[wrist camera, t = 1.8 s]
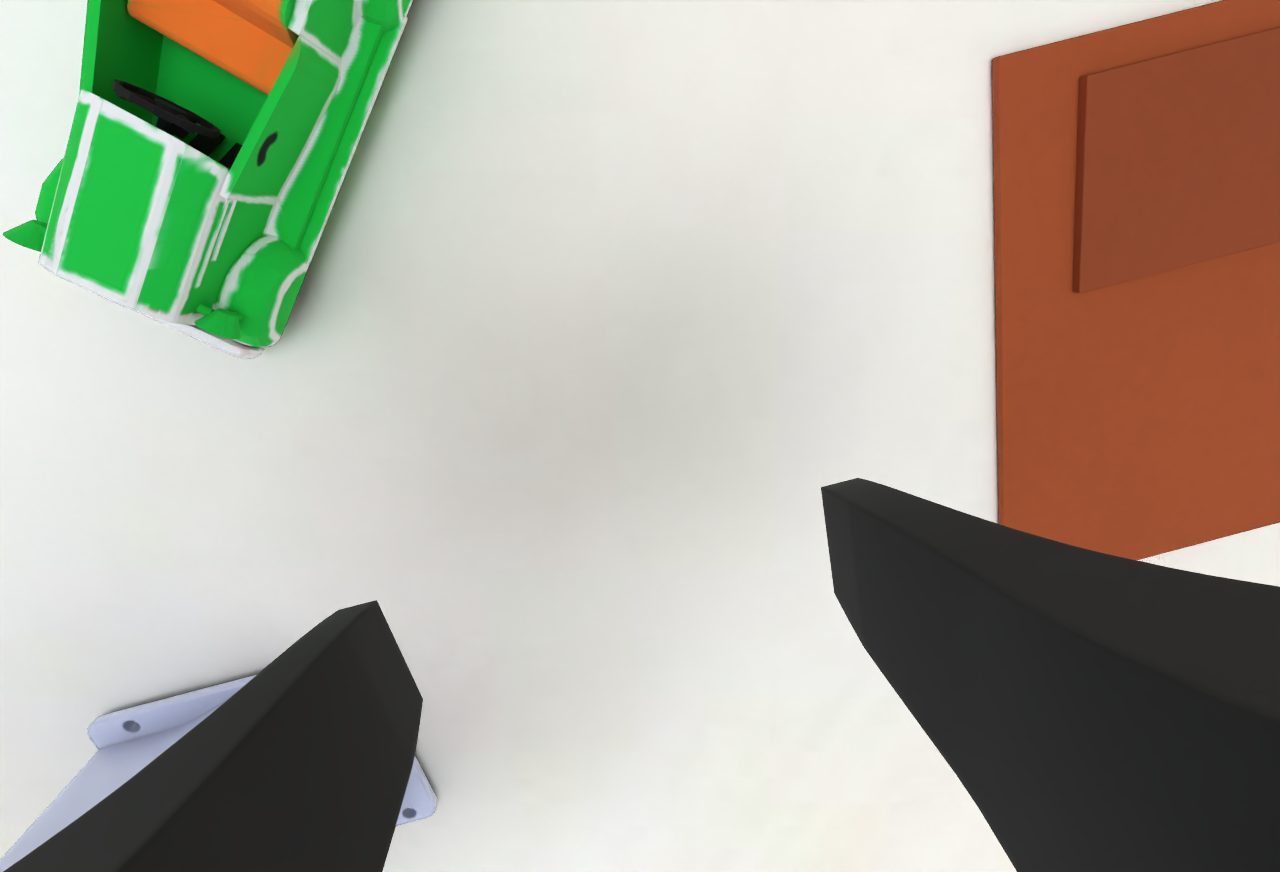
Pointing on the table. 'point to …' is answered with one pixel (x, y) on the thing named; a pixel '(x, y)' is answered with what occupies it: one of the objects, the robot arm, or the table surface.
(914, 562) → the robot arm
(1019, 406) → the rust cloth
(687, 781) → the table surface
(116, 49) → the toy car
